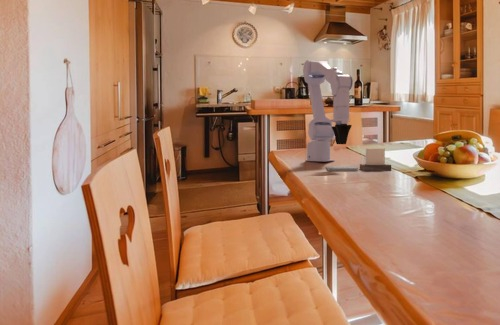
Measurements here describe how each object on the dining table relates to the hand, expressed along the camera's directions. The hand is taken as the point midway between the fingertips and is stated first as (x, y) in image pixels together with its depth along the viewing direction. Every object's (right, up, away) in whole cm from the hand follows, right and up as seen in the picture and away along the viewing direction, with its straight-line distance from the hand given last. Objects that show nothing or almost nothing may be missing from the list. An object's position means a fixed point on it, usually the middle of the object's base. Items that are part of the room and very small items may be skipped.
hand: (341, 144), depth 123 cm
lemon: (+29, -10, -4) cm, 31 cm away
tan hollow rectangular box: (+12, -10, 0) cm, 16 cm away
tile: (0, -10, +1) cm, 10 cm away
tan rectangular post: (+12, -10, 0) cm, 16 cm away
